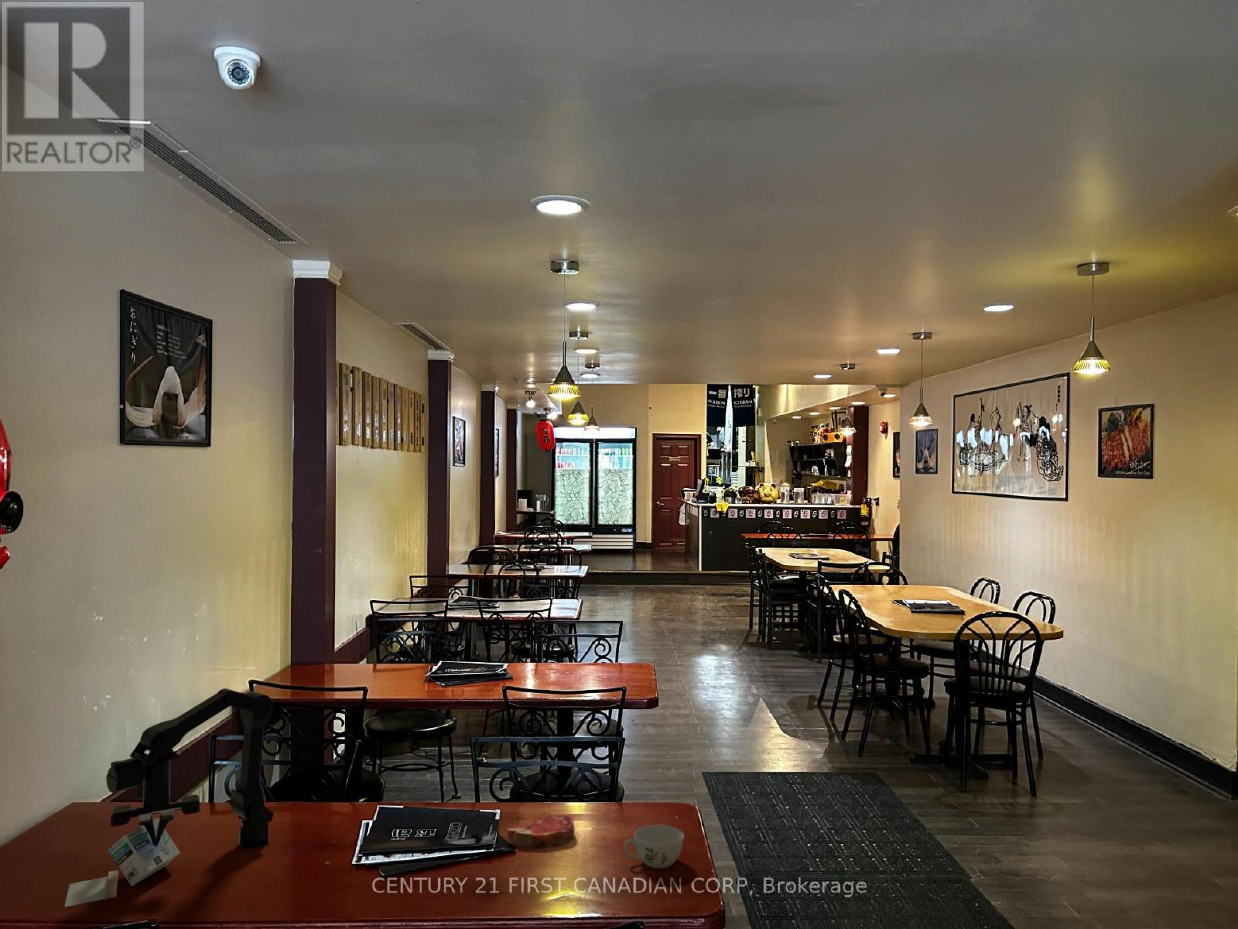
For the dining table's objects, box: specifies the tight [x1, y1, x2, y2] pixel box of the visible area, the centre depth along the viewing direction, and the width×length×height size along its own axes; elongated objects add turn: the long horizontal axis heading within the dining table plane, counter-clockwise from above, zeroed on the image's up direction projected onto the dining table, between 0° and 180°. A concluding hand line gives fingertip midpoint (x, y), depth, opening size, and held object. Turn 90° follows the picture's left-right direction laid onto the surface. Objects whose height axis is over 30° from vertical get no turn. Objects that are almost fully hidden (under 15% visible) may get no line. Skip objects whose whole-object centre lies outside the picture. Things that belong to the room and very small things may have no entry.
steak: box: [506, 814, 576, 849], centre depth 227 cm, size 25×21×6 cm
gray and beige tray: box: [64, 869, 119, 908], centre depth 199 cm, size 10×12×2 cm
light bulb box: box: [107, 817, 181, 887], centre depth 206 cm, size 11×7×11 cm
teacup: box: [623, 824, 685, 869], centre depth 214 cm, size 15×12×8 cm
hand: (155, 845), depth 205 cm, fingers closed
